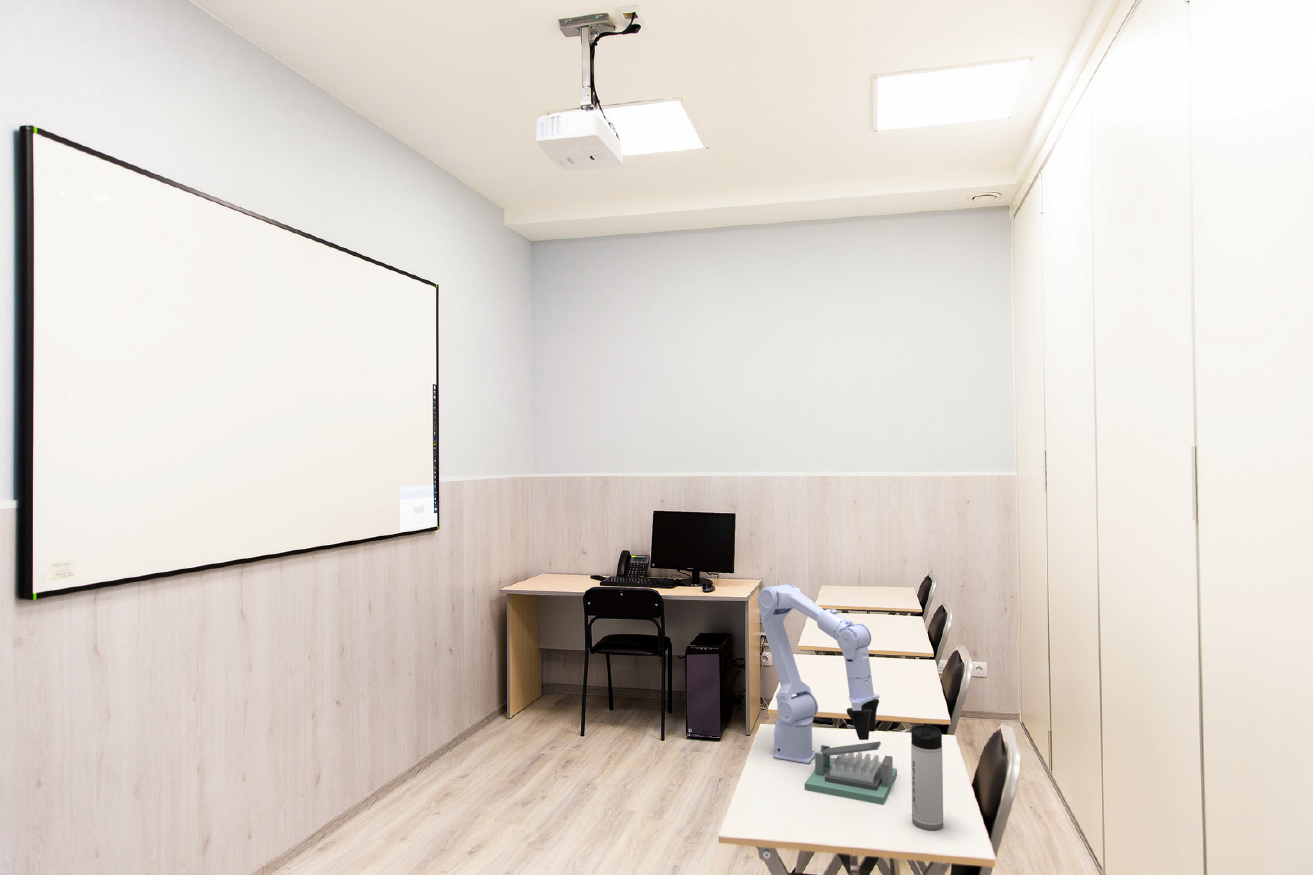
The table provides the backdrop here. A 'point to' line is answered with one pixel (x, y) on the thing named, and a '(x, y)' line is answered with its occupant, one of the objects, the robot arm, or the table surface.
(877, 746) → the flat metal bar
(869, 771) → the heat sink
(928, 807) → the travel mug
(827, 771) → the circuit board
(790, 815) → the table surface
